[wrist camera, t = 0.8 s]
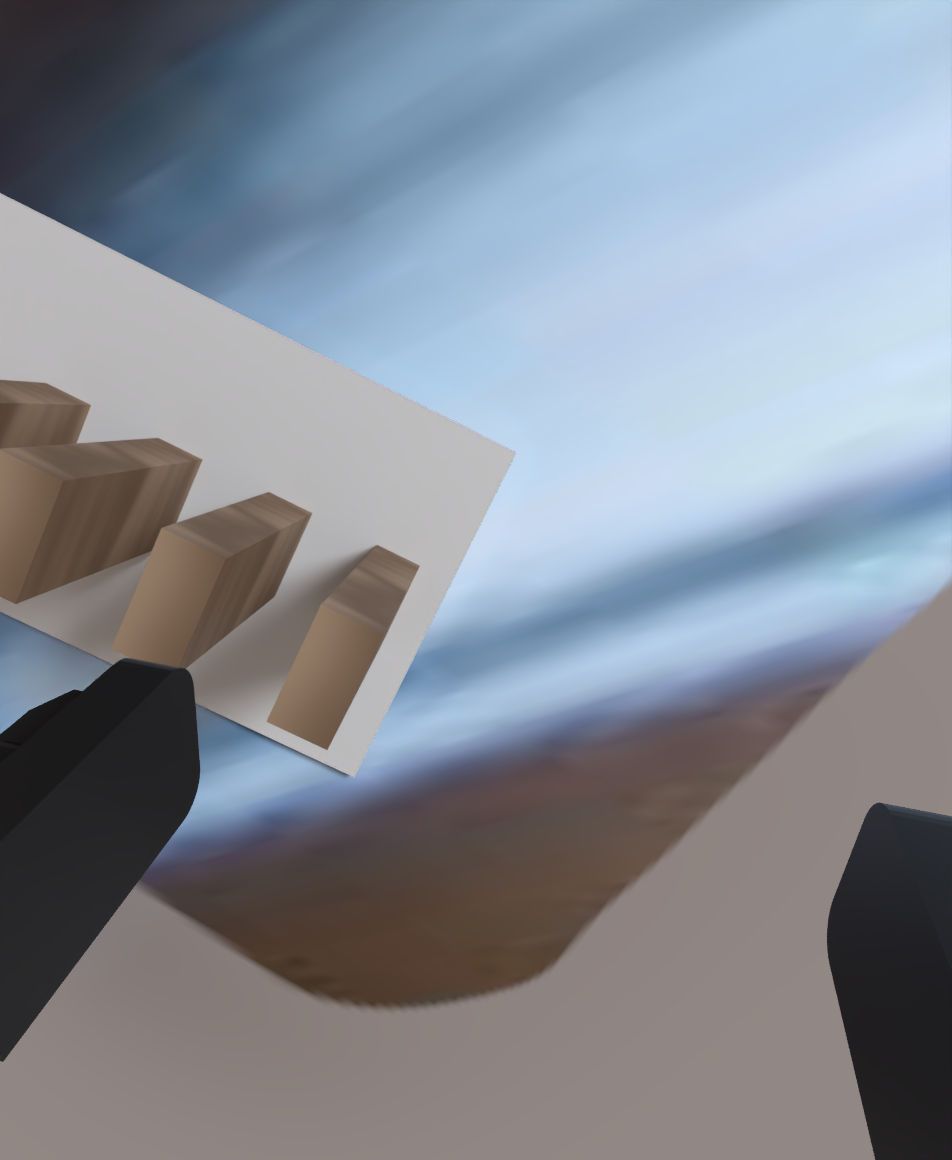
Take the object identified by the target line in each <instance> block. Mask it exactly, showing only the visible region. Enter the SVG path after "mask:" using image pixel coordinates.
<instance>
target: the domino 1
mask: <svg viewBox="0 0 952 1160" xmlns="http://www.w3.org/2000/svg"><path fill="white" fill-rule="evenodd" d="M90 407H91V405H90V404H88V403H86V402H84V401H82V400H80V399H78V398H76V397H74V396H72V395H70V394H68V393H66V392H64V391H62V390H59V389H57V388H55V387H53V386H51V385H49V384H47V383H40V382H26V381H12V380H0V449H3V448H17V447H32V446H46V445H61V444H76V443H77V441H78V438H79V435H80V433H81V430H82V428H83V425H84V422H85V420H86V417H87V415H88V412H89V409H90Z"/></svg>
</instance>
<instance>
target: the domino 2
mask: <svg viewBox="0 0 952 1160" xmlns="http://www.w3.org/2000/svg"><path fill="white" fill-rule="evenodd" d="M202 460H203V459H201V458H199V457H197V456H195V455H192V454H190V453H188V452H186V451H184V450H182V449H180V448H178V447H176V446H174V445H172V444H170V443H168V442H166V441H164V440H162V439H160V438H148V439H134V440H119V441H105V442H90V443H76V444H61V445H46V446H32V447H17V448H3V449H0V597H2V598H4V599H6V600H8V601H10V602H12V603H14V604H18V603H20V602H23V601H25V600H28V599H30V598H33V597H35V596H38V595H41V594H43V593H46V592H48V591H51V590H53V589H56V588H58V587H61V586H64V585H66V584H69V583H71V582H74V581H76V580H79V579H81V578H84V577H86V576H89V575H92V574H94V573H97V572H99V571H102V570H104V569H107V568H109V567H112V566H115V565H117V564H120V563H122V562H125V561H127V560H130V559H132V558H135V557H137V556H140V555H143V554H145V553H148V552H150V551H152V549H153V547H154V545H155V542H156V540H157V537H158V535H159V533H160V530H161V528H163V527H166V526H169V525H172V524H175V523H176V522H177V520H178V518H179V515H180V513H181V510H182V508H183V506H184V503H185V501H186V498H187V496H188V494H189V491H190V489H191V486H192V484H193V482H194V479H195V477H196V475H197V472H198V470H199V467H200V465H201V463H202Z"/></svg>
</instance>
